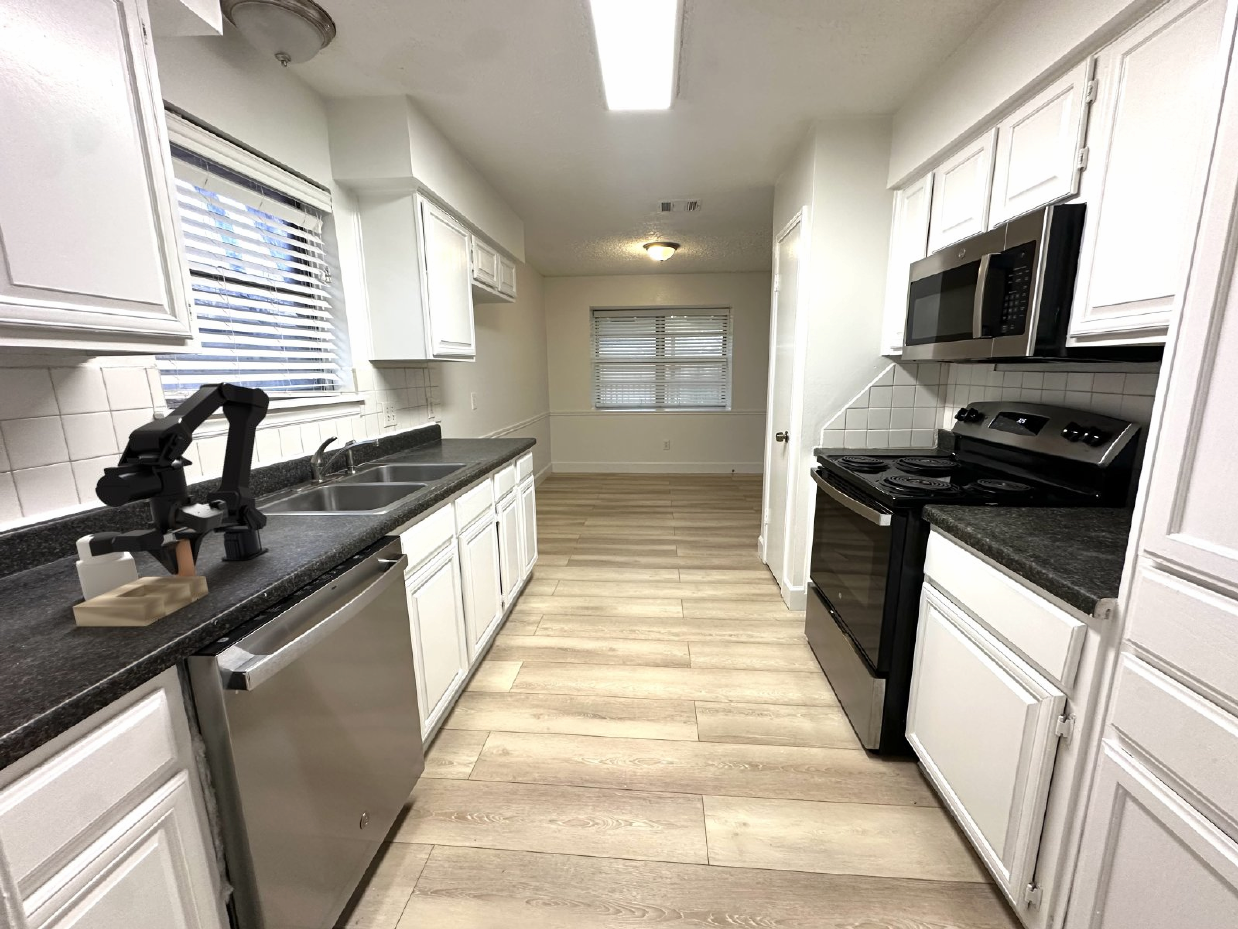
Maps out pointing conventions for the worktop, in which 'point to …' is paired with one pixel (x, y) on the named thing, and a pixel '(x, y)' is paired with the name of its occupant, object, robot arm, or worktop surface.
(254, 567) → the worktop surface
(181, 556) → the peg
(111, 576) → the medicine bottle
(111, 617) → the socket block
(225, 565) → the worktop surface
